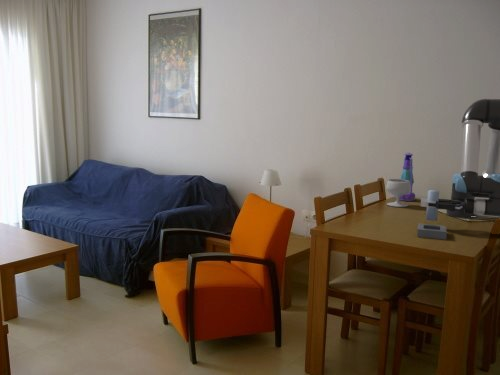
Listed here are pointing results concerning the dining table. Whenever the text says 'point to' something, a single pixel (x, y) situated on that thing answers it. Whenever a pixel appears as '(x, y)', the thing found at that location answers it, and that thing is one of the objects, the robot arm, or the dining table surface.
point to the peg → (431, 211)
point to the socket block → (431, 231)
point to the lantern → (408, 177)
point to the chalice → (398, 190)
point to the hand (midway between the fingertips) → (421, 202)
